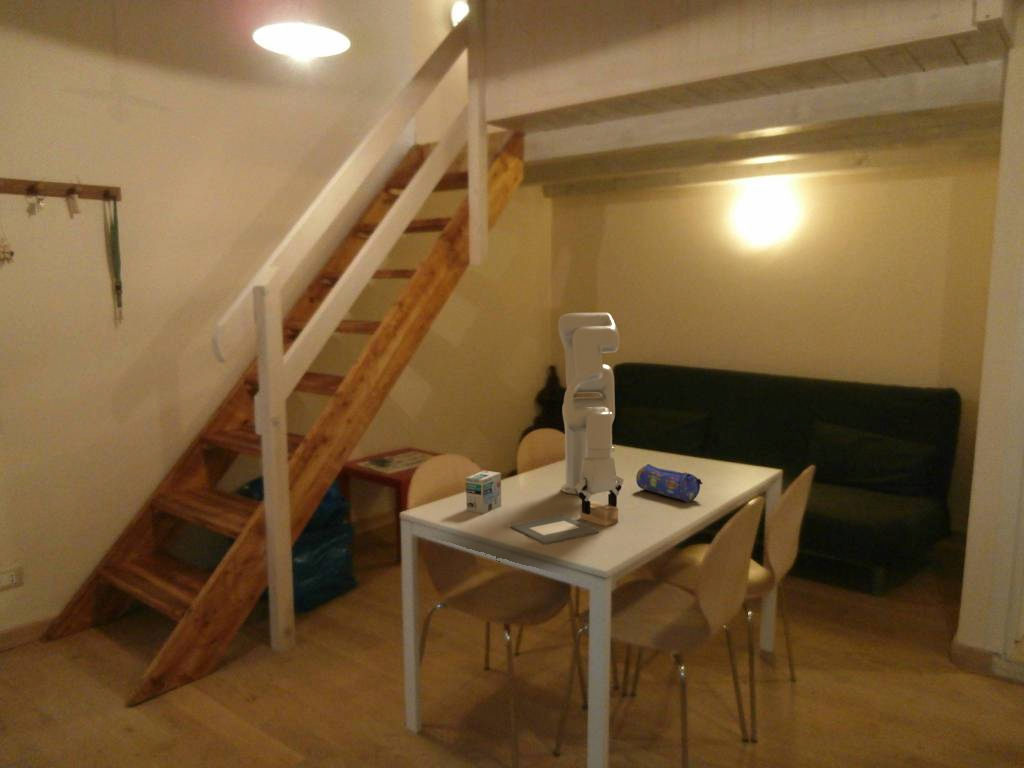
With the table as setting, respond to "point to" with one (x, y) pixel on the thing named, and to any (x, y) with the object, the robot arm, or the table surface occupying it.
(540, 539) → the mat
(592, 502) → the tan rectangular block
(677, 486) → the pencil case
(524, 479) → the table surface
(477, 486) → the light bulb box
